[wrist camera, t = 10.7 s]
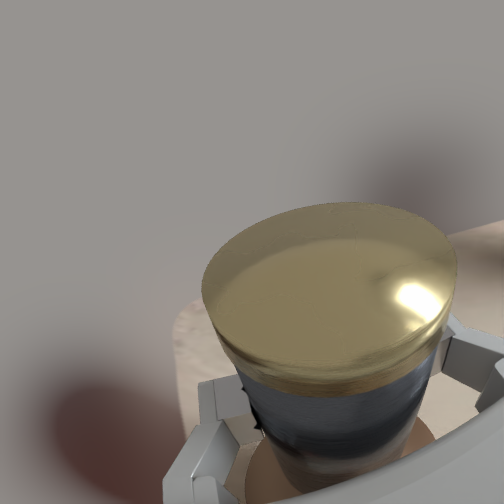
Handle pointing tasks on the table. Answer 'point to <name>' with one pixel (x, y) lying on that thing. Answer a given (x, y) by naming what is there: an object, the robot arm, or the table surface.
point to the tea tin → (333, 331)
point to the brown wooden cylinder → (279, 488)
